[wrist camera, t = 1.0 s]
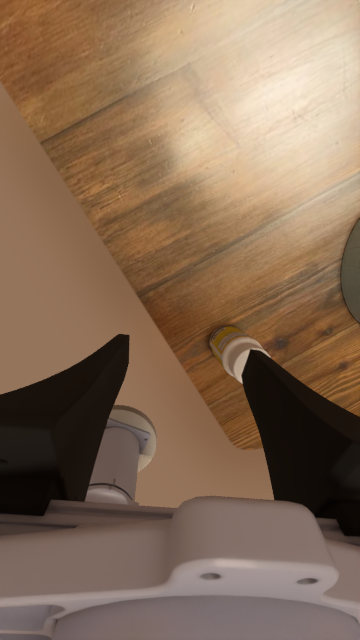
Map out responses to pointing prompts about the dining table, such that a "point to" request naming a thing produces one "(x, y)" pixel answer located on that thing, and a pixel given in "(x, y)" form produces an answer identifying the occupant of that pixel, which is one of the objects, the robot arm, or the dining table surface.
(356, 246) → the pan
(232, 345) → the supplement bottle
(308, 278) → the dining table surface
